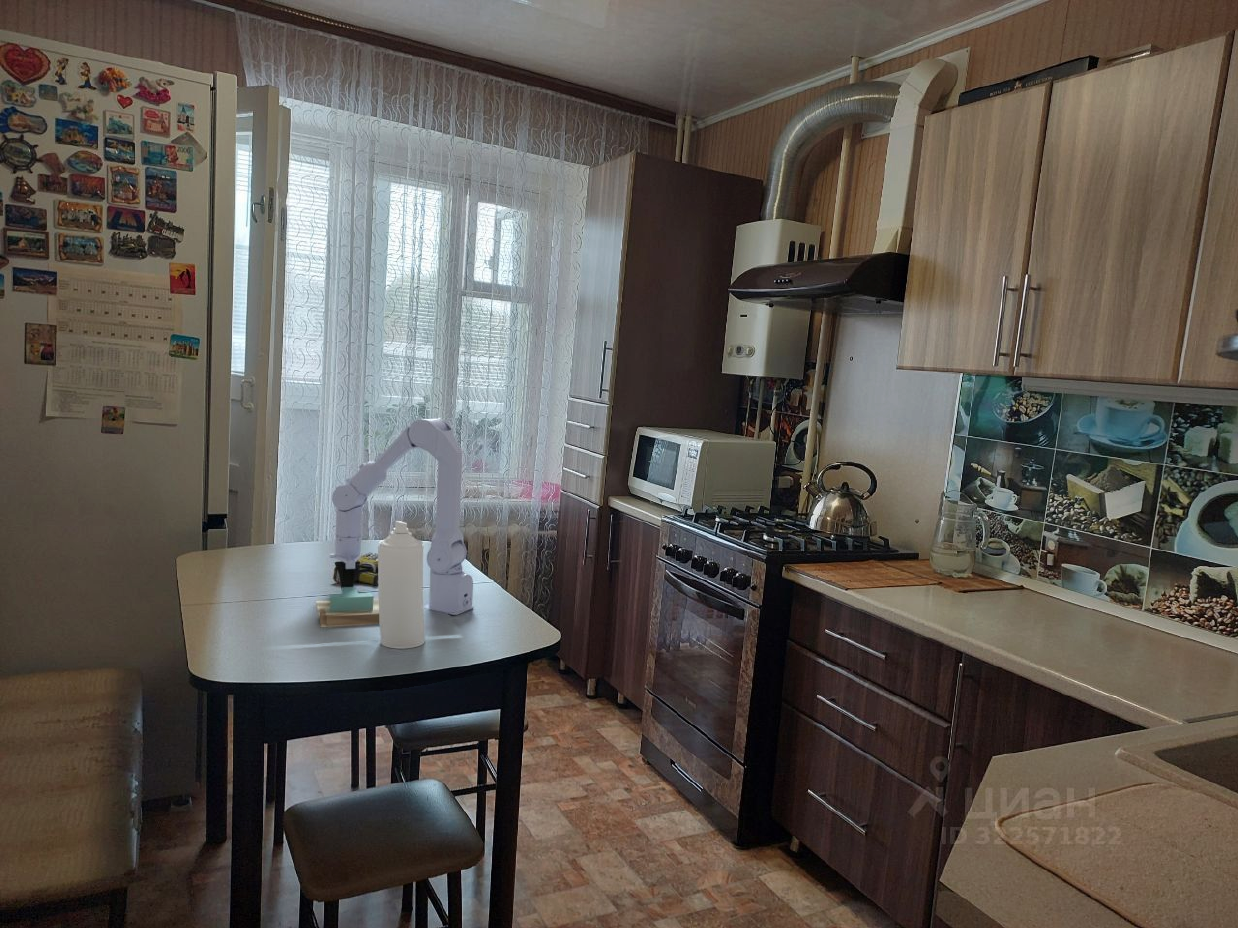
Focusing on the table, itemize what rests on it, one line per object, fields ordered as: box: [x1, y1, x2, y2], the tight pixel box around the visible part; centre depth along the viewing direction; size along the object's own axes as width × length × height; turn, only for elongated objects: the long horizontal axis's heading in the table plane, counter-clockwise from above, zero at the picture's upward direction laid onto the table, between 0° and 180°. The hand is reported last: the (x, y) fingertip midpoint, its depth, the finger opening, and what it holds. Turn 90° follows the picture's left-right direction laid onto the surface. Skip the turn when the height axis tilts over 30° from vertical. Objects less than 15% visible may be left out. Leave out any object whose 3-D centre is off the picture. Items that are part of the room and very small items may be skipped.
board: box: [315, 597, 380, 628], centre depth 180 cm, size 20×14×3 cm
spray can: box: [377, 520, 426, 650], centre depth 161 cm, size 12×11×25 cm
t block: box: [329, 586, 375, 612], centre depth 184 cm, size 9×9×3 cm
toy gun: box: [332, 551, 378, 587], centre depth 214 cm, size 5×24×15 cm
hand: (346, 592), depth 192 cm, fingers closed
